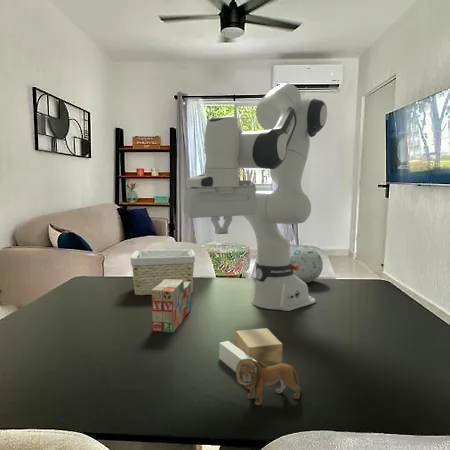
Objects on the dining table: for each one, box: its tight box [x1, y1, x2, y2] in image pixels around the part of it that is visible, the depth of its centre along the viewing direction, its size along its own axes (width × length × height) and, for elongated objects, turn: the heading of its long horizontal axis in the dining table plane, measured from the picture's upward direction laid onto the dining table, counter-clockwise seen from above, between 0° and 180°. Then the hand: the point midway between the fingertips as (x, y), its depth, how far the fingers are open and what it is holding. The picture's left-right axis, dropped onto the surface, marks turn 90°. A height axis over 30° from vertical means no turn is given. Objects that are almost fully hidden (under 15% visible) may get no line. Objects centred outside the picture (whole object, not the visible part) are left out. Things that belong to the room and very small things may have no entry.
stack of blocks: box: [151, 279, 192, 334], centre depth 123 cm, size 21×6×12 cm, turn 171°
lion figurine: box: [235, 358, 303, 406], centre depth 78 cm, size 15×5×9 cm, turn 114°
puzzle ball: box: [290, 246, 324, 284], centre depth 168 cm, size 15×15×15 cm
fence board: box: [218, 340, 256, 373], centre depth 91 cm, size 2×13×4 cm, turn 29°
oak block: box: [235, 327, 283, 366], centre depth 95 cm, size 8×10×6 cm
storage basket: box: [130, 248, 196, 296], centre depth 155 cm, size 24×16×15 cm
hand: (221, 233), depth 104 cm, fingers closed
